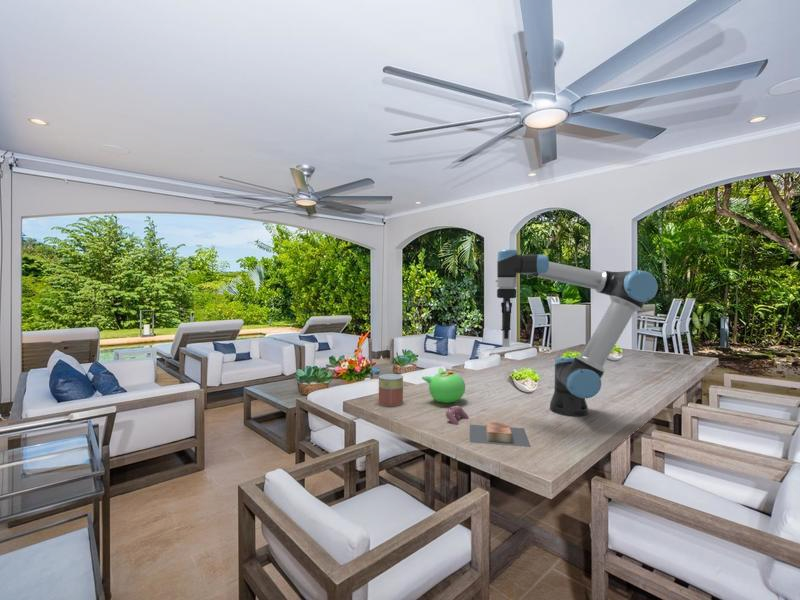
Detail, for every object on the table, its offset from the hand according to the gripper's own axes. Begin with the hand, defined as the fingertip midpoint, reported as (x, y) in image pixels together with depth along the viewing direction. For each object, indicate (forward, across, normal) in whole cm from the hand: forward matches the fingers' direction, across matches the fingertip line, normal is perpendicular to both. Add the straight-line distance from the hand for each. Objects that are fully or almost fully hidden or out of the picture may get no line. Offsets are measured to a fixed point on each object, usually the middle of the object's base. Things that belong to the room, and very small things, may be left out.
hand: (505, 346), depth 157 cm
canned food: (+30, -12, -50) cm, 59 cm away
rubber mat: (+29, +20, -4) cm, 36 cm away
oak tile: (+27, +17, -4) cm, 32 cm away
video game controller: (+30, +8, -19) cm, 36 cm away
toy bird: (+30, -18, -25) cm, 43 cm away
